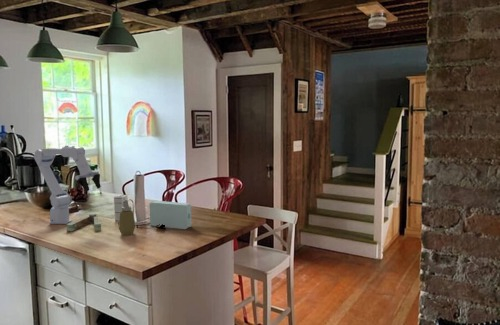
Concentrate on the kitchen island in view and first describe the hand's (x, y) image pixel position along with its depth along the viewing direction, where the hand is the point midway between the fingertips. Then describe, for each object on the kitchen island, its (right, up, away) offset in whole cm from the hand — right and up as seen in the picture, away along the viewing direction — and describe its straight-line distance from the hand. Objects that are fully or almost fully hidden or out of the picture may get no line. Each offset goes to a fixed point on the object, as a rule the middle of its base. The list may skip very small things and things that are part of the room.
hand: (93, 189), depth 218 cm
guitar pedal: (+41, -21, +5) cm, 47 cm away
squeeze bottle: (+22, -23, -11) cm, 33 cm away
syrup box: (+9, -19, +19) cm, 28 cm away
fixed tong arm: (-1, -21, +6) cm, 22 cm away
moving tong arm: (-9, -21, +3) cm, 23 cm away
